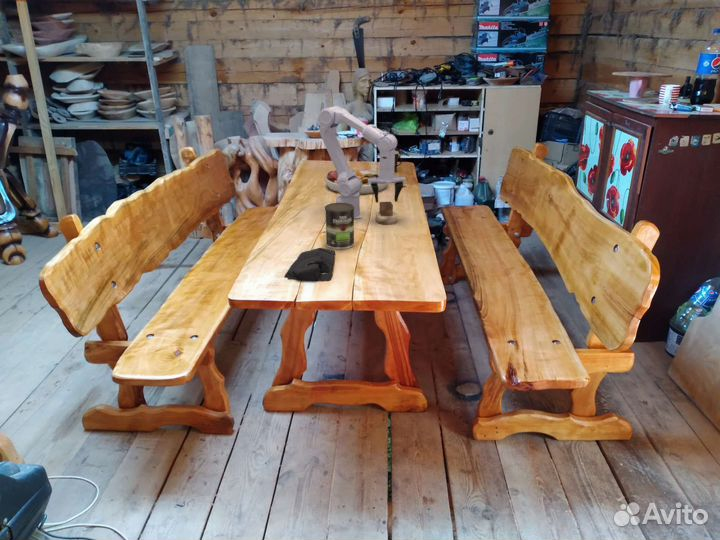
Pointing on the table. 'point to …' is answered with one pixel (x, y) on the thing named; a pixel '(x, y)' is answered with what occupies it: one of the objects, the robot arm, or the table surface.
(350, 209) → the coffee can
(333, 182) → the bowl
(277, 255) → the table surface
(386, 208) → the walnut cube
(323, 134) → the robot arm
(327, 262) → the dark slate chunk
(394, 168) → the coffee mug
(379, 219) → the birch round
